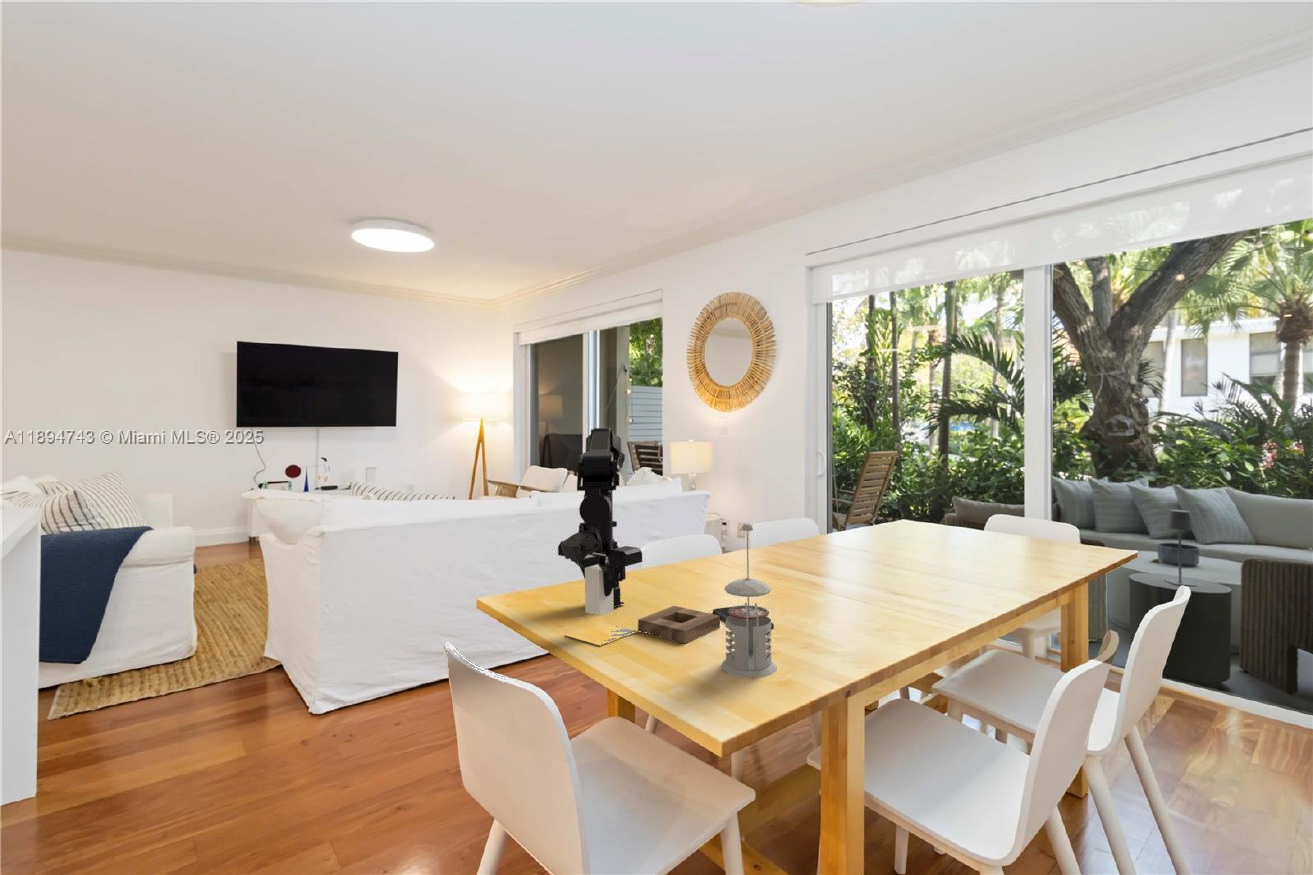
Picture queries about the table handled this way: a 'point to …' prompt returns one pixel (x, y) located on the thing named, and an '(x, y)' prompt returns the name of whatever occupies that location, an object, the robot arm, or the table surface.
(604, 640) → the grey mat
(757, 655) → the french press
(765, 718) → the table surface
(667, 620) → the walnut square frame
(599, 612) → the cream block
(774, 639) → the table surface
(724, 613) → the phone
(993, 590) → the table surface
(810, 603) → the table surface
